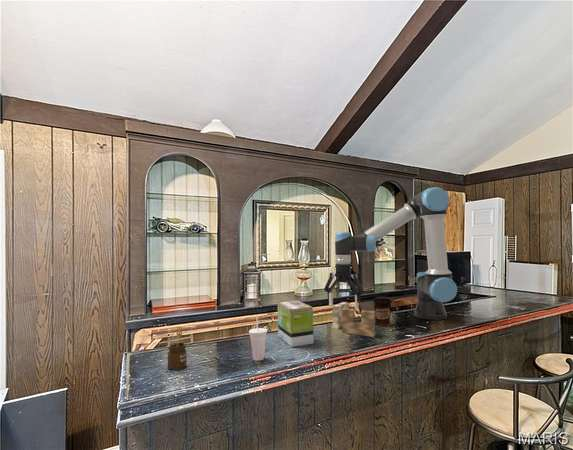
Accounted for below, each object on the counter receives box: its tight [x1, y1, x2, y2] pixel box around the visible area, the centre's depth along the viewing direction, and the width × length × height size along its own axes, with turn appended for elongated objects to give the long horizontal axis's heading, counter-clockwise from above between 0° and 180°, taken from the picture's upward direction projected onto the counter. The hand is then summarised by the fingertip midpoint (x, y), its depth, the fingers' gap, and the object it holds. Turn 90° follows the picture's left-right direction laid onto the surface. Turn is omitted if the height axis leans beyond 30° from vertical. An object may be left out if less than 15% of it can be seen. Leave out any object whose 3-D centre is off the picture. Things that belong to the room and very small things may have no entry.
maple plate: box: [331, 301, 350, 330], centre depth 152 cm, size 13×2×10 cm, turn 146°
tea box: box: [277, 300, 315, 348], centre depth 131 cm, size 15×10×15 cm, turn 22°
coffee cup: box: [373, 296, 392, 327], centre depth 151 cm, size 9×8×13 cm
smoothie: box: [248, 316, 268, 362], centre depth 111 cm, size 6×6×14 cm
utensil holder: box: [167, 326, 188, 371], centre depth 105 cm, size 6×6×12 cm
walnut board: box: [341, 308, 376, 338], centre depth 138 cm, size 14×2×10 cm, turn 56°
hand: (343, 307), depth 156 cm, fingers open, 13 cm apart
